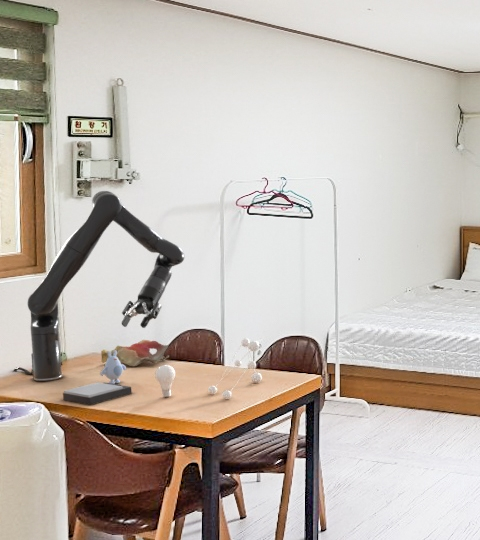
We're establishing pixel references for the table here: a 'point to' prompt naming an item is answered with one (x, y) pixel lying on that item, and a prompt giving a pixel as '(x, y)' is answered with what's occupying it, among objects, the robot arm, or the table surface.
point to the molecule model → (255, 376)
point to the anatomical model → (138, 353)
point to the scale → (96, 393)
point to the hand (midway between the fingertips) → (132, 326)
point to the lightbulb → (165, 378)
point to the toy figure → (113, 368)
